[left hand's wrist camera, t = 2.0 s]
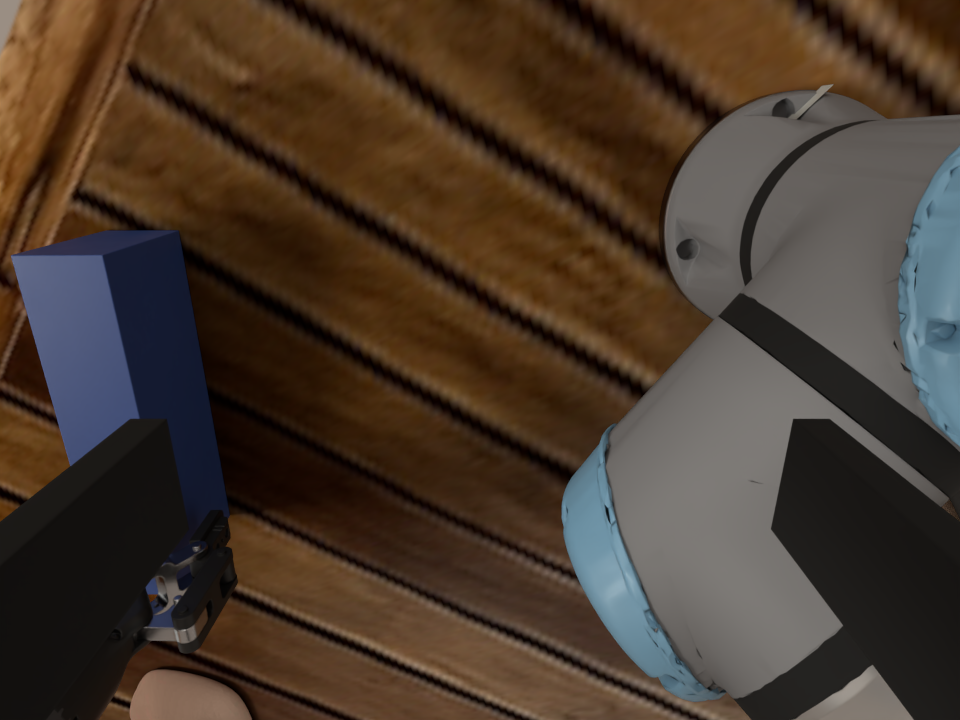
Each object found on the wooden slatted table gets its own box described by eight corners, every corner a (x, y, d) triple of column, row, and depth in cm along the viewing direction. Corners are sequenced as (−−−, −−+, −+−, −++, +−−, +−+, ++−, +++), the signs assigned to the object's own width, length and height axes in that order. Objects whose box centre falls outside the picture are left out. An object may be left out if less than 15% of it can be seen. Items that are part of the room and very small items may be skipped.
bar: (105, 230, 40) (10, 255, 31) (178, 230, 40) (102, 254, 31) (169, 516, 48) (106, 595, 39) (230, 515, 48) (179, 594, 39)
